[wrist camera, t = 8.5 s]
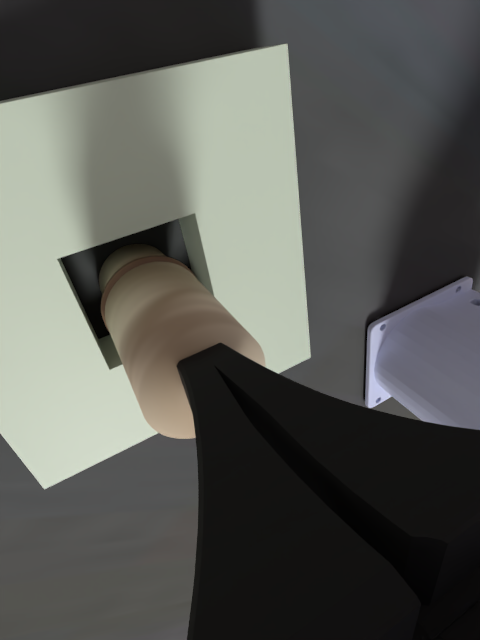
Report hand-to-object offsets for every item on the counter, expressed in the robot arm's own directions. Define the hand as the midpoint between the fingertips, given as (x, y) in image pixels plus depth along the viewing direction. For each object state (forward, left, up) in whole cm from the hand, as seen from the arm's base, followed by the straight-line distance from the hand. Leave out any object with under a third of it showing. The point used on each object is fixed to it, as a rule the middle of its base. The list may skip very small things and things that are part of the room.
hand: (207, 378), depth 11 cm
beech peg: (0, 0, -8) cm, 8 cm away
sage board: (0, 0, -8) cm, 8 cm away
